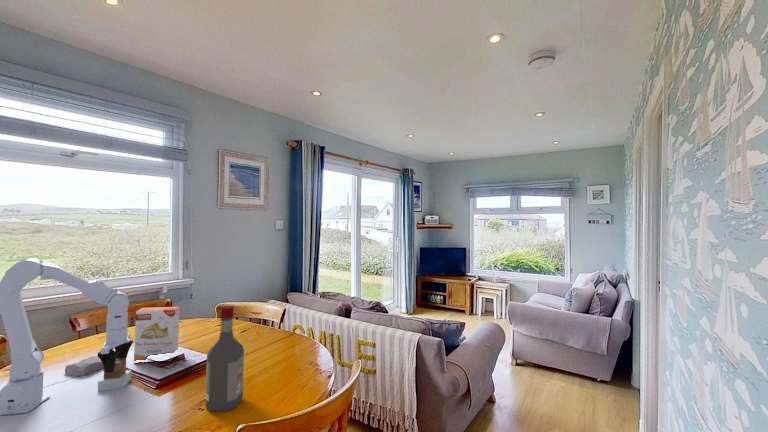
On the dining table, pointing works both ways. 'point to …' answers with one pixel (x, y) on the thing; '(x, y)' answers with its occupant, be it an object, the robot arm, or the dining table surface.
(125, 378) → the grey-blue block
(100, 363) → the stone block
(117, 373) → the walnut block
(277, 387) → the dining table surface
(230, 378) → the liquor
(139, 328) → the cracker box
